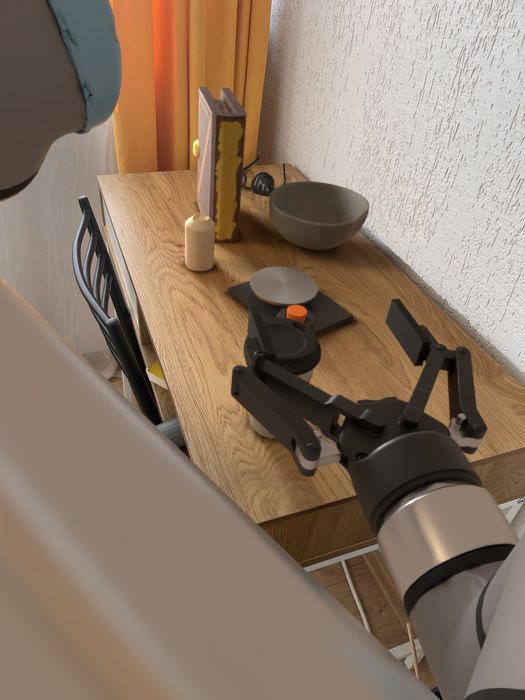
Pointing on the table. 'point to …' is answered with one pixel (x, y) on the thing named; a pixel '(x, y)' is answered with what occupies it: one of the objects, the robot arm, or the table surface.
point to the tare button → (297, 313)
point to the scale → (319, 311)
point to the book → (220, 160)
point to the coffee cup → (291, 352)
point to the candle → (199, 242)
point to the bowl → (317, 213)
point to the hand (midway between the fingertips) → (324, 314)
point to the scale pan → (283, 286)
